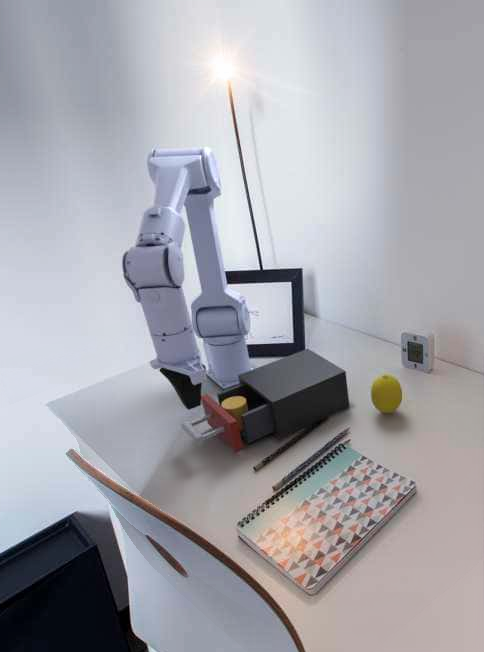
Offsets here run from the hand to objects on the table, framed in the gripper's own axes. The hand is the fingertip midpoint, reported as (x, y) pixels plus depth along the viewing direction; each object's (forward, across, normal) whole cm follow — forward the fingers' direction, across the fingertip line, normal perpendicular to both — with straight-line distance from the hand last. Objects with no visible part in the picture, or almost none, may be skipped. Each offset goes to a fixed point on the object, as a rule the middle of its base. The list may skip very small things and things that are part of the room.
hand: (193, 405), depth 84 cm
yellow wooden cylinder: (+7, 0, +6) cm, 9 cm away
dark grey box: (+9, 0, +18) cm, 20 cm away
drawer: (+8, 0, +7) cm, 11 cm away
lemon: (+9, +13, +29) cm, 33 cm away
